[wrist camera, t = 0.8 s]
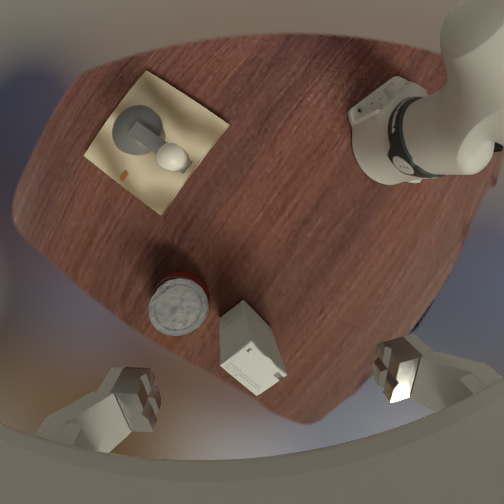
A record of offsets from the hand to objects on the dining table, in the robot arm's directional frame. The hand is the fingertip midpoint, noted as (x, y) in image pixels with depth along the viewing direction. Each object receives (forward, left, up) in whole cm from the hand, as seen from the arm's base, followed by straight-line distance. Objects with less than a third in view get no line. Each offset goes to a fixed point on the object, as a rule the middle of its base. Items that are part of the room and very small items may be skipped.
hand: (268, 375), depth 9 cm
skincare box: (+13, +11, -39) cm, 43 cm away
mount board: (-3, -21, -39) cm, 44 cm away
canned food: (+16, -1, -39) cm, 43 cm away
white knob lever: (-3, -18, -32) cm, 36 cm away
